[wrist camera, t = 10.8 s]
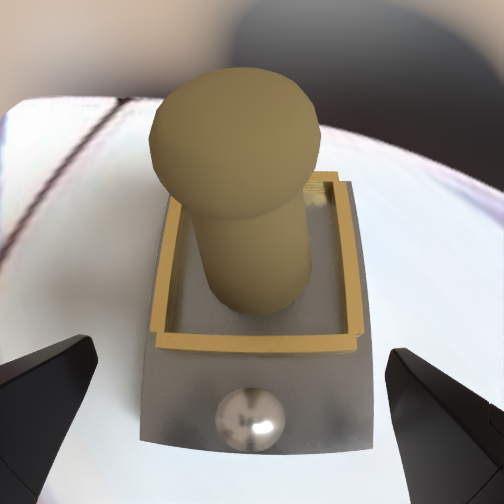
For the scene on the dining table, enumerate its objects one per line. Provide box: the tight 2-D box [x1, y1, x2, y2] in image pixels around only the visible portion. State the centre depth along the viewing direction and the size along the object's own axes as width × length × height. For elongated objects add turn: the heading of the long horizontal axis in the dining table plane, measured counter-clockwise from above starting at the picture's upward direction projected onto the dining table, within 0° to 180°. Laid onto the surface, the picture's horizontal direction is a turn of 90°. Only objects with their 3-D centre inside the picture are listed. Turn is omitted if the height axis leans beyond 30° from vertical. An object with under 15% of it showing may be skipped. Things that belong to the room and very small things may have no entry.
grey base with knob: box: [140, 171, 374, 455], centre depth 17 cm, size 16×12×4 cm
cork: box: [149, 67, 321, 315], centre depth 12 cm, size 6×6×11 cm
